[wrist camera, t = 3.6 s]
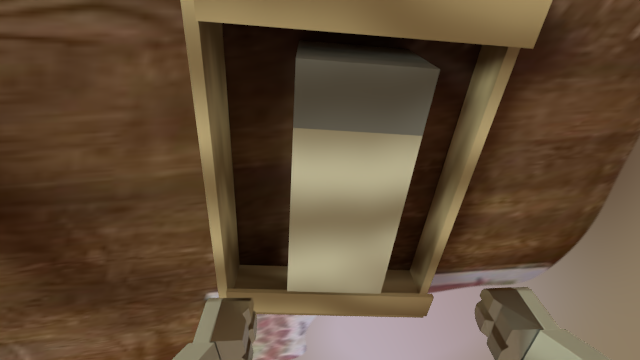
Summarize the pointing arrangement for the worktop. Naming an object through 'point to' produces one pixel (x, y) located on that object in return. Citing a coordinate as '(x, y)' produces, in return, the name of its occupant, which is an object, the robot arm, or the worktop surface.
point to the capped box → (352, 161)
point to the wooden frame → (368, 19)
